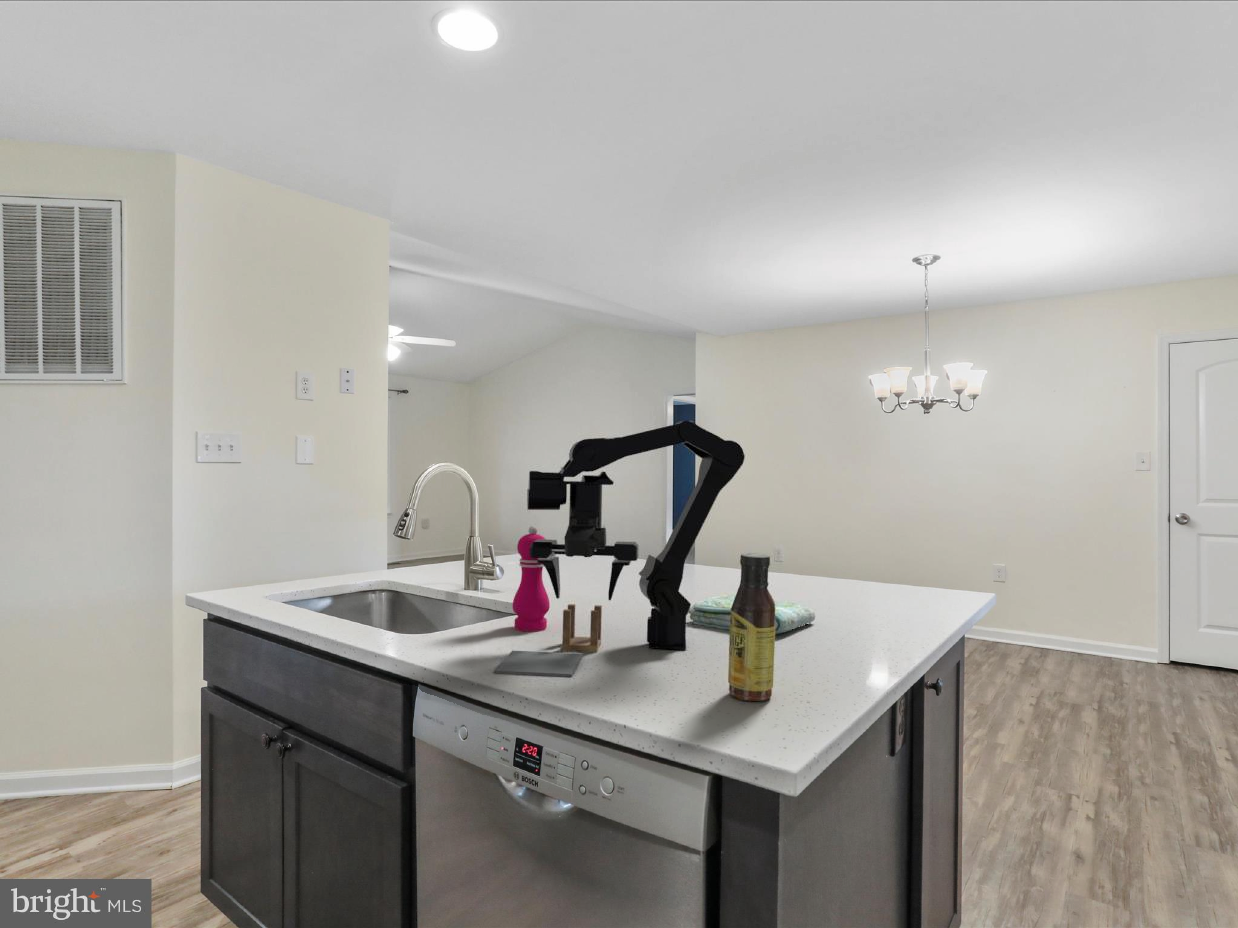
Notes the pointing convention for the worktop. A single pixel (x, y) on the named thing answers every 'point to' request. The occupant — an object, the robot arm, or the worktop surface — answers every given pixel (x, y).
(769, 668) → the sauce bottle
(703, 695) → the worktop surface
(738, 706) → the worktop surface
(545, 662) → the mat
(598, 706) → the worktop surface
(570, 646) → the stool
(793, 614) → the towel
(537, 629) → the pepper mill
